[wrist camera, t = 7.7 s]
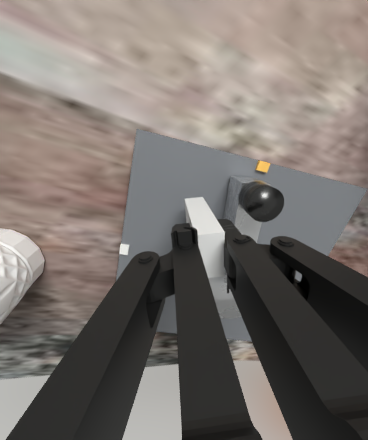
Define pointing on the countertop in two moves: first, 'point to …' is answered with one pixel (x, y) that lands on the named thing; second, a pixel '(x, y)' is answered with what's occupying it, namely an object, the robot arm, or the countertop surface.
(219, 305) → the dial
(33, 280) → the white cup
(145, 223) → the board
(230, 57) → the countertop surface
